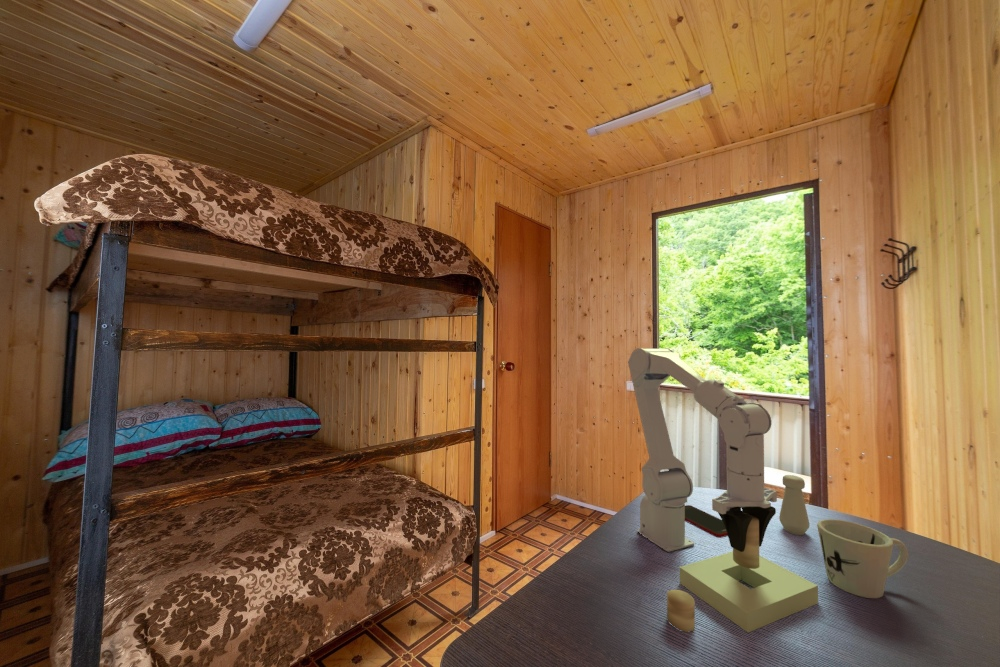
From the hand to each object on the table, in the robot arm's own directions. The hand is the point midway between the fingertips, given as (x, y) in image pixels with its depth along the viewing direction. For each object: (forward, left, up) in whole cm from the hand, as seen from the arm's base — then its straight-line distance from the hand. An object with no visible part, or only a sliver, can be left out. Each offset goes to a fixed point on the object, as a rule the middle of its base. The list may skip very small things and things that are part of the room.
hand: (745, 546), depth 68 cm
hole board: (0, 0, -8) cm, 8 cm away
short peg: (+1, -17, -8) cm, 19 cm away
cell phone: (-23, +17, -9) cm, 30 cm away
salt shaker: (-11, +33, -8) cm, 36 cm away
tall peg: (0, 0, -3) cm, 3 cm away
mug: (+7, +23, -8) cm, 26 cm away
